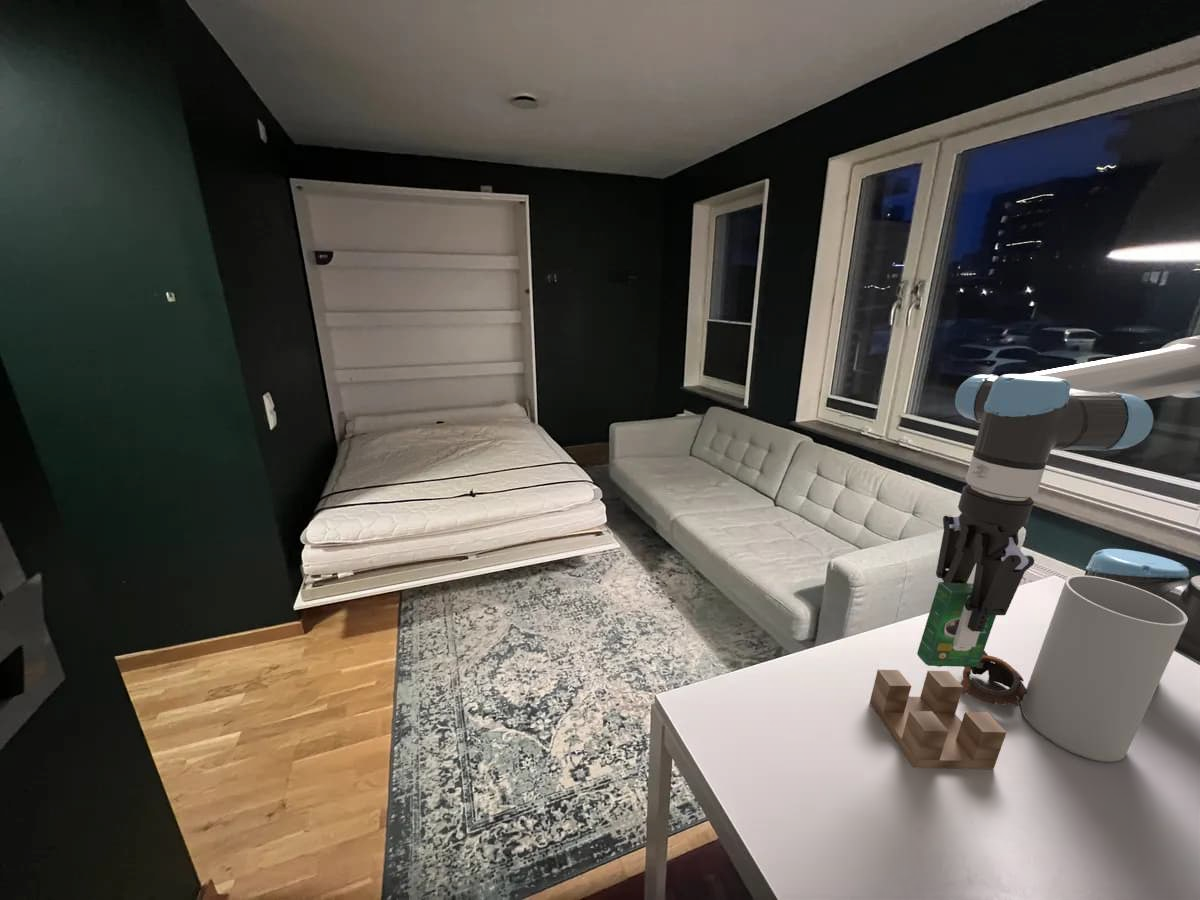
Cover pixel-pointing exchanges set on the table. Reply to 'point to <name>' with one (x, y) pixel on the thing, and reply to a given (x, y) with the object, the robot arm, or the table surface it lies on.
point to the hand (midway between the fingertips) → (955, 636)
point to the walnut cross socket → (935, 723)
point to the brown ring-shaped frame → (996, 673)
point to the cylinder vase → (1100, 665)
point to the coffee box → (950, 629)
